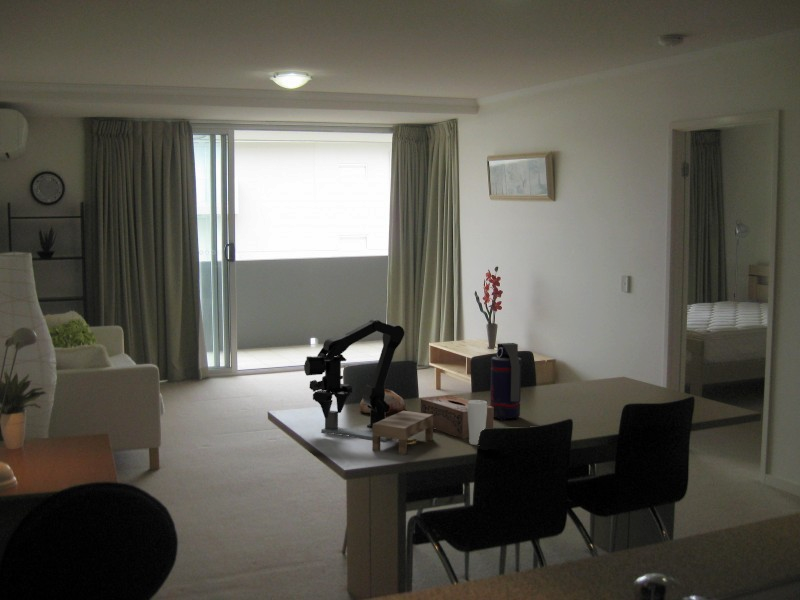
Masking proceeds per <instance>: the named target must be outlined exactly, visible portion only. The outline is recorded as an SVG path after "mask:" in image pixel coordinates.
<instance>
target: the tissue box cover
mask: <svg viewBox="0 0 800 600" xmlns="http://www.w3.org/2000/svg"><path fill="white" fill-rule="evenodd" d="M468 401H470V399H466V398H462V397H460V396H456V395H453V394H447V395H439V396H431V397H426V398H420V413H425V414H433V429H434V428H436V429H435V430H437V429H439V430H438V431H440V430H441V431H440V432H443V431H444V432H443V433H446V432H447V433H446V434H448V433H450V434H449V435H451V434H452V436H454V435H455V437H457V436H458V438H460V437H461V439H467V437H468V438H469V427H468ZM494 418H495V417H494V407H491V406H490V405H488V404H487V418H486V427H485V428H493V429H494Z"/></svg>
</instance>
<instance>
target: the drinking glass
mask: <svg viewBox="0 0 800 600" xmlns="http://www.w3.org/2000/svg"><path fill="white" fill-rule="evenodd" d="M469 400H470V399H469ZM487 405H488V402H487V401H486V400H483V399H471V400H470V401H468V427H469V437H468V443H469V445H471V446H478V445H477V444H478V440H479V436H480V432H481V431H482V430H484V429H485V427H486V418H487Z"/></svg>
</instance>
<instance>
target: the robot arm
mask: <svg viewBox="0 0 800 600" xmlns="http://www.w3.org/2000/svg"><path fill="white" fill-rule="evenodd" d="M375 332H377V333H381V334H382V348H381V349H382V350H381V352H380V356H379V359H378V363H377V365H376V368H375V370H374V371H375V372H374V376H373V378H372V381H371V383H370V384H369V385H368V384H365V386H364V390H363V393H362V394H361V395H362V396H363V397H362V399H363V400H364V402H365V403H366V404H367V407H368V408H369V409H371V413H370V421H369V424H367V425H366V427H367V428H368V427H369V428H373V424H374V423H376V422H378V421H381V420H383V419H385V418H387V417H386V412H388V411H389V408H390V406H389V405H388V404H387V403H386V402H385V401H384V398H385V389H386V388H385V384H386V381H387V378H388V374H389V372H390V368H391V364H392V361H393V358H394V354H395V352H396V349H397V348H398V347H399V346H400V344H401V343H402V341H403V339H404V336H405V333H406V332H405V330H404V328H403V327H402V326H401V325H397V324H394V323H385V322H382V321H381V320H378V319H375V318H374V319H370V320H369V321H367V322H365V323H364V324H362V325H360V326H358V327H356V328H355V329H353V330H351V331H349V332H347V333H345V334H342V335H338V336H337V335H336V336H334V337H331V338H328V339H325V340H324V342H323V345H322V348H321V350H319V352H318V354H317V356H311V355H310V356H308V355H307V356H306V359H305V362H304V364H303V369H304V373H305V375H306V376H317V375H320V376H321V375H323V374H324V376H322V378H321V380H319V381H317V380H316V379H313V380H310V381H309V387H308V388H309V389H310V390H311V391H312V392H313V394H312V400H313V401H315V402H317V403H318V404H319V405H320V408H321V411H322V414H323V416H324V419H325V418H328V416H329V412H330V410H331V407H332V404H333V396H334V397H335V398H336V399H335V400H336V408H337V410H336V411H338V414H340V413H341V414H342V411H343V409H344V407H345V404H346V402H347V401H348V399H349V397H350V396H351V393H353V386H352V385H351V384H347V383H346V384H344V383H341V382H342V379H344V375H342V374H341V373H342V362H346V361H347V358H345V357H344V355H343V353H344V352H346V351H347V350H348V349H349V347H350V346H352V345H353V344H355V343H357V342H359V341H360V340H362V339H364V338H366V337H368V336H369V335H372V334H374V333H375Z"/></svg>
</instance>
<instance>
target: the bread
mask: <svg viewBox="0 0 800 600" xmlns="http://www.w3.org/2000/svg"><path fill="white" fill-rule="evenodd" d="M384 389H385V398H384V401H385V402H386V403H387V404H388V405H389V406H390V408H389V411H388V412H386V415H387V416H391V415H394V414H397V413H399V412H401V411H404V410H406V402H405V400H404V398H403V397H402V396H401V395H398V394H397V393H396V392H394V391H393V390H390V389H386V388H384ZM359 409H360V411H361V412H362V413H364V414H370V413H371V409H369V408H368V407H367V404H366V403H365V402H364V400H363V398H362V399H361V401H360V403H359ZM390 414H391V415H390Z"/></svg>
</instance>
